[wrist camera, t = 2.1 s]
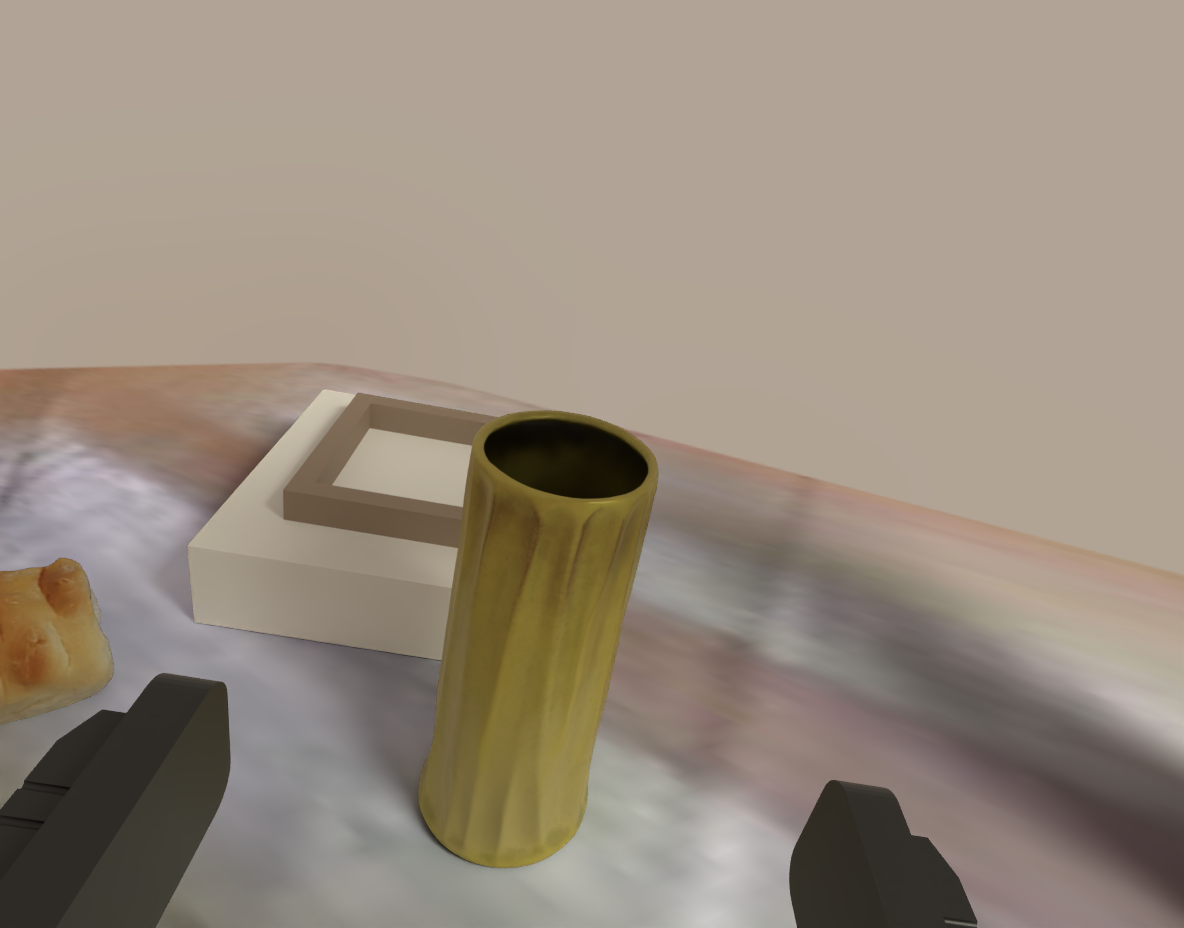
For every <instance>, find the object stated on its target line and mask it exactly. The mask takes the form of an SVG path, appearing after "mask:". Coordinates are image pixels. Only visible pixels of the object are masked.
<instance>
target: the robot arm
mask: <svg viewBox="0 0 1184 928" xmlns="http://www.w3.org/2000/svg"><path fill="white" fill-rule="evenodd" d="M229 772H230V738H229V717H228V696H227V688H226V685H225V684H224V683H223V682H219V681H212V680H206V679H200V678H193V677H187V676H180V675H174V674H168V673H162V674H159V675H157V676H156V677H155V678H154V679H153V680H152V681H151V682H150V683H149V684H148V685H147V687H146V688H145V689H144V691H143V692H142V693H141V695H140V696H139V697H138V699H137V700H136V701H135V703H134V704H133V705H132V707H131V708H130V709H129V711H128V712H127V713H122V712H115V711H109V710H101V711H100V712H98V713H97V714H95V715H94V716H92V717H91V718H89V719H88V720H86V721H85V722H83V723H82V724H81V725H79V726H78V727H76V728H75V729H73V730H72V731H70V732H69V733H67V734H66V735H65V736H63V737H62V738H60V739H59V740H57V741H56V743H55V744H54V745H53V746H52V747H51V749H50V750H49V751H48V752H47V753H46V755H45V756H44V757H43V758H42V760H41V761H40V762H39V763H38V764H37V766H36V767H35V768H34V769H33V770H32V772H31V773H30V774H29V775H28V777H27V778H26V779H25V780H24V785H23V787H22V788H21V789H17V790H16V791H15V792H14V794H13V795H12V796H11V797H10V798H9V800H8V801H7V802H6V803H5V804H4V806H3V807H2V808H1V809H0V928H155V927H156V925H157V924H158V922H159V920H160V918H161V916H162V914H163V912H164V910H165V908H166V907H167V905H168V903H169V901H170V899H171V897H172V895H173V893H174V891H175V890H176V888H177V886H178V884H179V882H180V880H181V878H182V876H183V875H184V873H185V871H186V869H187V867H188V865H189V863H190V861H191V859H192V858H193V856H194V854H195V852H196V850H197V848H198V846H199V844H200V843H201V841H202V839H203V837H204V835H205V833H206V831H207V829H208V827H209V826H210V824H211V822H212V820H213V818H214V816H215V814H216V812H217V810H218V808H219V806H220V803H221V801H222V798H223V795H224V792H225V789H226V785H227V782H228V777H229ZM789 884H790V895H791V901H792V906H793V910H794V915H795V920H796V924H797V928H977V919H976V917H975V915H974V912H973V910H972V908H971V905H970V903H969V901H968V898H967V896H966V894H965V891H964V889H963V887H962V884H961V882H960V880H959V877H958V876H957V875H956V874H955V872H954V871H953V870H952V868H951V867H950V866H949V865H948V863H947V862H946V861H945V859H944V858H943V857H942V856H941V854H940V853H939V852H938V850H937V849H936V848H935V847H934V845H933V844H932V843H931V842H930V840H929V839H928V838H926V837H920V836H913V835H911V833H910V831H909V828H908V826H907V823H906V820H905V818H904V815H903V813H902V810H901V808H900V805H899V803H898V801H897V798H896V797H895V795H894V794H893V793H892V792H891V791H890V790H889V789H887V788H882V787H876V786H869V785H863V784H857V783H850V782H844V781H837V780H831V781H830V782H828V783H827V784H826V786H825V787H824V789H823V791H822V793H821V795H820V797H819V799H818V801H817V803H816V805H815V807H814V809H813V811H812V813H811V815H810V817H809V819H808V821H807V823H806V825H805V827H804V829H803V831H802V833H801V835H800V837H799V839H798V841H797V843H796V845H795V847H794V850H793V853H792V857H791V863H790V873H789Z"/></svg>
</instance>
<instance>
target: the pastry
mask: <svg viewBox="0 0 1184 928" xmlns="http://www.w3.org/2000/svg"><path fill="white" fill-rule="evenodd" d="M100 620H101V610H100V608H99V606H98V604H97V599H96V597H95V595H94V593H93V591H92V590H91V589H90V585H89V581H88V578H87V575H86V573H85V571H84V570H83V569H82V567H81V565H80V564H79V563H77V562H76V561H73V560H71V559H67V558H59V559H58V560H56V561H55V562H54V563H52V564H51V565H49V566H47V567H39V568H27V569H23V570H18V571H1V572H0V724H4V723H8V722H12V721H16V720H20V719H26V718H31V717H34V716H37V715H39V714H43V713H47V712H50V711H52V710H55V709H58V708H61V707H65V706H68V705H71V704H73V703H76V702H78V701H80V700H83V699H85V698H88V697H91V696H92V695H94V694H96V693H97V692H99V691H100V690H101V689H103V688H104V687H105V686H106V685H107V683H108V682H109V681H110V680H111V678H112V677H113V674H114V663H113V659H112V653H111V650H110V645H109V641H108V639H107V637H106V636H105V635H104V633H103V632H102V630H101V629H100V625H99V623H100Z"/></svg>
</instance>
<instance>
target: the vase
mask: <svg viewBox="0 0 1184 928" xmlns="http://www.w3.org/2000/svg"><path fill="white" fill-rule="evenodd" d="M657 483H658V466H657V462H656V458H655V456H654V454H653V453H652V452H651V450H650V449H649V448H648V447H647V446H646V445H645V444H643V443H642V442H641V441H640V440H639V439H637V438H636V437H635V436H634V435H632V434H631V433H629V432H628V431H626V430H624V429H622V428H620V427H618V426H616V425H613V424H611V423H608V422H605V421H603V420H600V419H597V418H593V417H590V416H586V415H581V414H575V413H569V412H563V411H550V410H549V411H526V412H518V413H513V414H507V415H504V416H501V417H498V418H496V419H494V420H492V421H490V422H488V423H486V424H485V425H484V426H482V427H481V428H480V429H479V430H478V432H477V433H476V435H475V437H474V440H473V443H472V449H471V454H470V460H469V467H468V473H467V479H466V486H465V494H464V502H463V512H462V521H461V530H460V538H459V546H458V552H457V558H456V564H455V570H454V576H453V583H452V590H451V597H450V605H449V611H448V618H447V624H446V631H445V638H444V646H443V653H442V660H441V667H440V674H439V681H438V689H437V699H436V709H435V728H434V737H433V742H432V747H431V749H430V751H429V754H428V756H427V758H426V761H425V763H424V766H423V769H422V772H421V776H420V780H419V787H418V799H419V805H420V809H421V812H422V815H423V817H424V819H425V821H426V823H427V825H428V827H429V828H430V830H431V831H432V833H433V834H434V835H435V837H436V838H437V839H438V840H439V841H440V842H441V843H442V844H443V845H444V846H445V847H446V848H447V849H449V850H450V851H452V852H453V853H454V854H456V855H458V856H460V857H461V858H464V859H466V860H468V861H470V862H473V863H476V864H479V865H484V866H488V867H494V868H514V867H522V866H527V865H531V864H534V863H537V862H539V861H542V860H544V859H546V858H548V857H549V856H551V855H553V854H554V853H556V852H557V851H558V850H560V849H561V848H562V847H563V846H564V845H566V844H567V843H568V842H569V841H570V840H571V838H572V837H573V836H574V835H575V833H576V832H577V830H578V828H579V826H580V824H581V822H582V819H583V815H584V812H585V808H586V804H587V797H588V778H589V769H590V763H591V759H592V754H593V749H594V744H595V740H596V736H597V732H598V728H599V724H600V721H601V717H602V713H603V710H604V706H605V702H606V698H607V693H608V689H609V684H610V679H611V675H612V670H613V666H614V662H615V657H616V652H617V648H618V643H619V638H620V633H621V628H622V623H623V618H624V614H625V611H626V607H627V604H628V600H629V597H630V594H631V590H632V586H633V583H634V578H635V574H636V570H637V566H638V562H639V558H640V554H641V550H642V546H643V542H644V538H645V534H646V530H647V526H648V522H649V517H650V513H651V509H652V504H653V500H654V496H655V493H656V489H657Z"/></svg>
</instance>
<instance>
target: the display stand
mask: <svg viewBox="0 0 1184 928" xmlns="http://www.w3.org/2000/svg"><path fill="white" fill-rule="evenodd" d="M496 418H498V417H494V416H488V415H482V414H477V413H471V412H465V411H459V410H454V409H448V408H442V407H437V406H431V405H425V404H420V403H414V402H408V401H402V400H397V399H391V398H385V397H380V396H374V395H368V394H362V393H357V394H356V395H354V394H348V393H343V392H337V391H331V390H326V389H324V390H323V391H322V392H321V393H320V394H319V395H318V396H317V398H316V399H315V400H314V401H313V402H312V403H311V404H310V406H309V407H308V408H307V409H306V410H305V411H304V412H303V414H302V415H301V416H300V417H299V418H298V419H297V420H296V422H295V423H294V424H293V425H292V426H291V427H290V428H289V430H288V431H287V432H286V433H285V434H284V435H283V436H282V438H281V439H280V440H279V441H278V442H277V443H276V444H275V446H274V447H273V448H272V449H271V450H270V451H269V452H268V454H267V455H266V456H265V457H264V458H263V459H262V460H261V462H260V463H259V464H258V465H257V466H256V467H255V468H254V470H253V471H252V472H251V473H250V474H249V475H248V476H247V478H246V479H245V480H244V481H243V482H242V483H241V484H240V486H239V487H238V488H237V489H236V490H235V491H234V492H233V494H232V495H231V496H230V497H229V498H228V499H227V500H226V502H225V503H224V504H223V505H222V506H221V507H220V508H219V510H218V511H217V512H216V513H215V514H214V515H213V516H212V518H211V519H210V520H209V521H208V522H207V523H206V524H205V526H204V527H203V528H202V529H201V530H200V531H199V532H198V534H197V535H196V536H195V537H194V538H193V539H192V540H191V542H190V543H189V544H188V545H187V551H188V561H189V572H190V583H191V593H192V604H193V615H194V622H196V623H202V624H209V625H215V626H222V627H228V628H235V629H241V630H248V631H254V632H261V633H267V634H274V635H280V636H287V637H293V638H300V639H306V640H313V641H319V642H326V643H332V644H339V645H345V646H351V647H358V648H364V649H371V650H377V651H384V652H390V653H397V654H403V655H410V656H416V657H423V658H429V659H436V660H442V653H443V646H444V638H445V631H446V624H447V618H448V611H449V605H450V597H451V590H452V583H453V576H454V570H455V564H456V558H457V552H458V546H459V538H460V530H461V521H462V512H463V502H464V494H465V486H466V479H467V473H468V467H469V460H470V454H471V449H472V443H473V440H474V437H475V435H476V433H477V432H478V430H479V429H480V428H481V427H482V426H484V425H485V424H486V423H488V422H490V421H492V420H494V419H496Z"/></svg>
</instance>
